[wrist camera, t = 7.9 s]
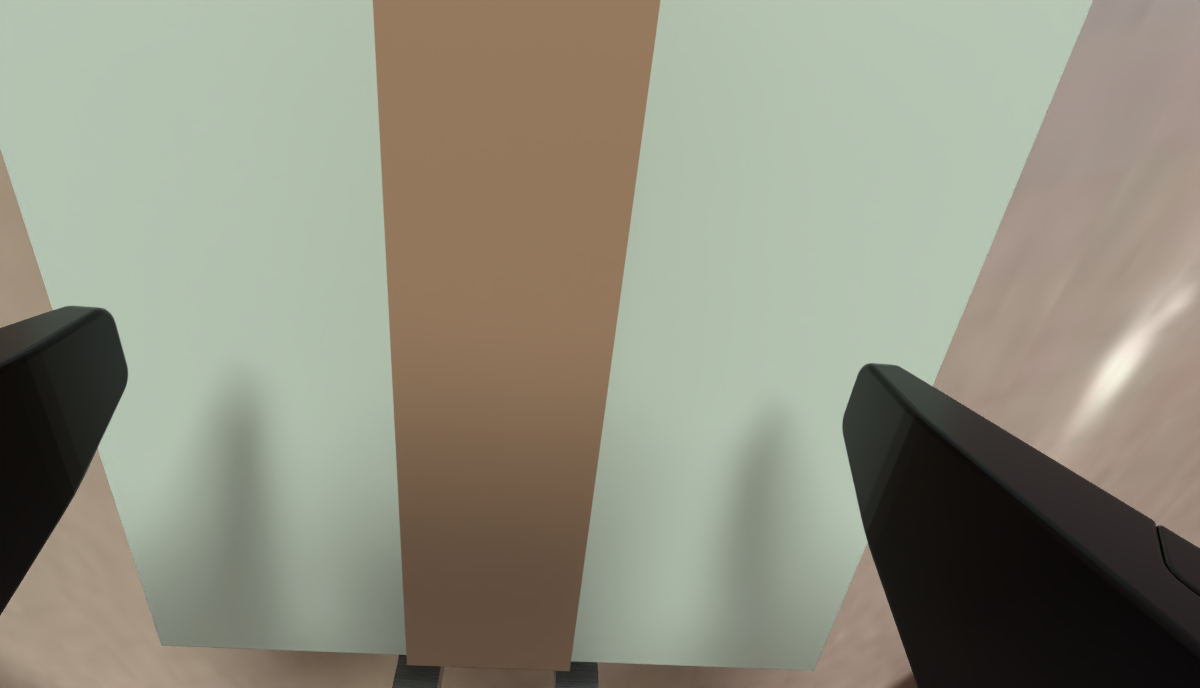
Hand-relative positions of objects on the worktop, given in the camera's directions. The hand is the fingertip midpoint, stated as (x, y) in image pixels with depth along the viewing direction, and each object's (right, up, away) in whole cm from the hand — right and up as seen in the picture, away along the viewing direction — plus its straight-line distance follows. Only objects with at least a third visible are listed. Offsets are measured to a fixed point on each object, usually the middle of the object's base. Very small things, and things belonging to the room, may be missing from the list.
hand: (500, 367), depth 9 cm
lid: (0, +3, +5) cm, 6 cm away
